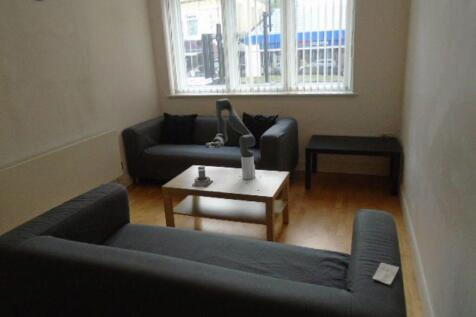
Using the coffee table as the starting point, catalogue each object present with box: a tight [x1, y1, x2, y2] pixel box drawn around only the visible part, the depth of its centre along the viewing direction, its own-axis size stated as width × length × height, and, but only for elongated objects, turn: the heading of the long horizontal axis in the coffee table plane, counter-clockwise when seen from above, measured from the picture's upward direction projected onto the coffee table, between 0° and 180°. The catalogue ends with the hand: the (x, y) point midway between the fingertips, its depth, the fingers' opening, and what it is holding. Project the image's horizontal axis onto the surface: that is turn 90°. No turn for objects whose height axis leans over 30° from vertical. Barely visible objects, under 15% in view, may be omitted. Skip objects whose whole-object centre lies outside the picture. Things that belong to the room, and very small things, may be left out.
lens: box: [197, 165, 207, 180], centre depth 278 cm, size 5×5×12 cm
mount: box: [191, 176, 214, 188], centre depth 279 cm, size 12×12×4 cm
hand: (212, 146), depth 289 cm, fingers open, 8 cm apart
